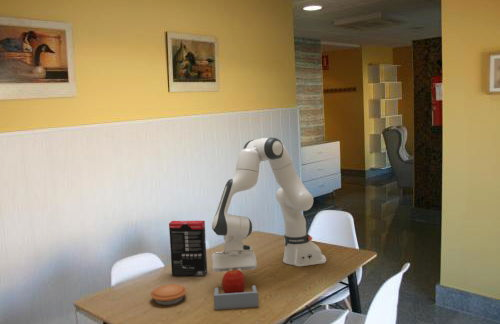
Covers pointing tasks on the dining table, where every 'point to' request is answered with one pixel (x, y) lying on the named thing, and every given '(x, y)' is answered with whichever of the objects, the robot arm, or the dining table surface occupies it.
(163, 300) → the pie
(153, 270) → the dining table surface
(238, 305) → the frame
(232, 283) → the apple
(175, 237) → the graphics card box
